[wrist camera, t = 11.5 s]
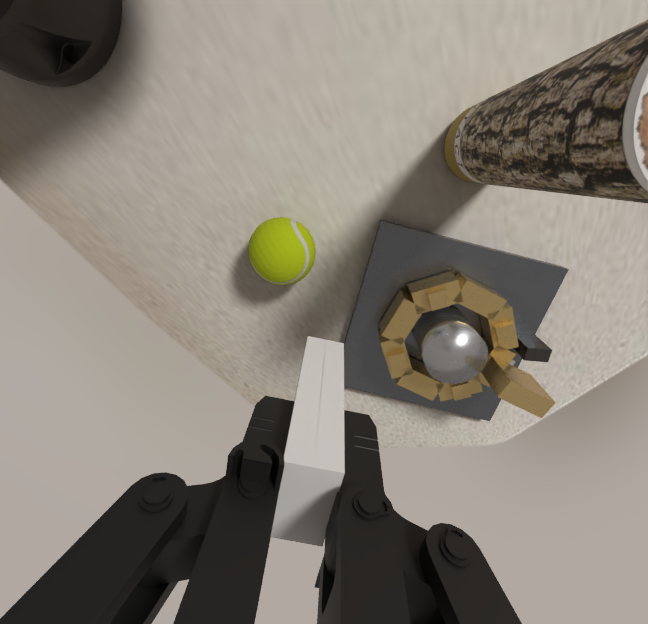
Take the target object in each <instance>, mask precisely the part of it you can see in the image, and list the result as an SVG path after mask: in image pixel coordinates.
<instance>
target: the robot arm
mask: <svg viewBox="0 0 648 624" xmlns="http://www.w3.org/2000/svg"><path fill="white" fill-rule="evenodd" d="M121 12H122V2H121V0H0V69H2V70H4V71H6V72H8V73H10V74H12V75H14V76H17V77H19V78H22V79H25V80H29V81H32V82H36V83H40V84H44V85H48V86H70V85H74V84H78V83H81V82H83V81H85V80H87V79H89V78H90V77H92V76H93V75H94V74H96V73H97V72H98V71H99V70H100V69H101V68H102V67H103V65H104V64H105V63H106V62H107V60H108V58H109V57H110V55H111V53H112V51H113V49H114V47H115V44H116V41H117V38H118V34H119V30H120V24H121ZM377 439H378V438H377V430H376V426H375V424H374V423H373V421H372V419H371V418H370V416H369V415H366V414H361V413H356V412H351V411H345V410H344V343H340V342H335V341H330V340H325V339H320V338H315V337H310V336H308V337H307V342H306V347H305V352H304V357H303V361H302V366H301V371H300V376H299V381H298V386H297V390H296V395H295V400H294V401H289V400H284V399H279V398H274V397H269V396H265V397H264V398H262V399H261V400H260V401H259V402H258V403H257V404H256V405H255V408H254V412H253V414H252V417H251V420H250V422H249V425H248V428H247V431H246V434H245V437H244V439H243V442H241V443H240V444H239V445H237V446H235V447H234V448H233V449H232V451H231V452H230V454H229V455H228V463H227V470H226V476H224V477H223V478H221V479H220V480H217V481H215V482H212V483H207V484H202V485H192V486H187V485H186V484H185V482H184V480H183V479H181V478H180V477H178V476H177V475H174V474H169V473H155V474H151V475H149V476H146V477H144V478H141V479H140V480H139V481H137V482H136V483H135V484H133V485H132V486H131V487H130V488H129V489H128V490H127V491H126V492H125V493H124V494H123V495H122V496H121V497H120V498H119V499H118V500H117V501H116V502H115V503H114V504H113V505H112V506H111V507H110V508H109V509H108V510H107V511H106V512H105V513H104V514H103V515H102V516H101V517H100V519H98V520H97V521H96V522H95V523H94V524H93V525H92V526H91V527H90V528H89V529H88V530H87V531H86V532H85V534H83V535H82V537H80V538H79V539H78V541H77V542H76V543H75V544H74V545H73V546H72V547H71V548H70V549H69V550H68V551H67V552H66V553H65V554H64V555H63V556H62V557H61V558H60V559H59V560H58V561H57V562H56V563H55V564H54V565H53V566H52V567H51V568H50V569H49V570H48V571H47V572H46V573H45V574H44V575H43V576H42V577H41V578H40V579H39V580H38V581H37V582H36V583H35V584H34V585H33V586H32V587H31V588H30V589H29V590H28V591H27V592H26V593H25V594H24V595H23V596H22V597H21V598H20V599H19V600H18V601H17V602H16V603H15V604H14V605H13V606H12V607H11V609H10V610H8V612H6V614H5V615H4V616H3V617H2V618H1V619H0V624H151V623H152V622H153V620H154V619H155V617H156V615H157V614H158V612H159V611H160V609H161V608H162V606H163V605H164V603H165V601H166V600H167V598H168V597H169V595H170V593H171V592H172V590H173V589H174V587H175V586H176V584H177V583H178V581H182V580H187V579H189V582H188V585H187V588H186V590H185V593H184V596H183V599H182V601H181V604H180V607H179V610H178V613H177V615H176V618H175V621H174V624H254V622H255V617H256V611H257V606H258V601H259V596H260V590H261V585H262V579H263V574H264V568H265V564H266V558H267V553H268V548H269V542H270V537H274V538H280V539H285V540H290V541H296V542H301V543H307V544H312V545H317V546H323V542H324V539H325V554H324V558H323V560H322V564H321V567H320V570H319V573H318V576H317V580H316V584H315V587H317V588H319V601H318V619H317V624H522V623H521V622H520V620H519V618H518V616H517V614H516V613H515V611H514V609H513V607H512V606H511V604H510V602H509V600H508V598H507V597H506V595H505V593H504V591H503V590H502V588H501V586H500V584H499V582H498V581H497V579H496V577H495V576H494V573H493V572H492V570H491V568H490V566H489V565H488V563H487V561H486V559H485V557H484V556H483V554H482V552H481V550H480V549H479V547H478V546H477V545H476V543H475V542H474V540H473V539H472V538H471V537H470V536H469V535H468V534H466V533H465V532H464V531H463V530H461V529H459V528H457V527H455V526H453V525H451V524H444V523H440V524H437V525H433V526H432V527H431V528H430V529H429V531H427V530H425V529H423V528H421V527H419V526H417V525H415V524H413V523H411V522H409V521H408V520H406V519H404V518H403V517H401V516H400V515H399V514H398V513H397V512H396V511H394V509H393V507H392V504H391V502H390V501H389V499H388V498H387V497H386V495H385V492H384V487H383V479H382V471H381V462H380V456H379V455H380V454H379V446H378V441H377Z"/></svg>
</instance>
